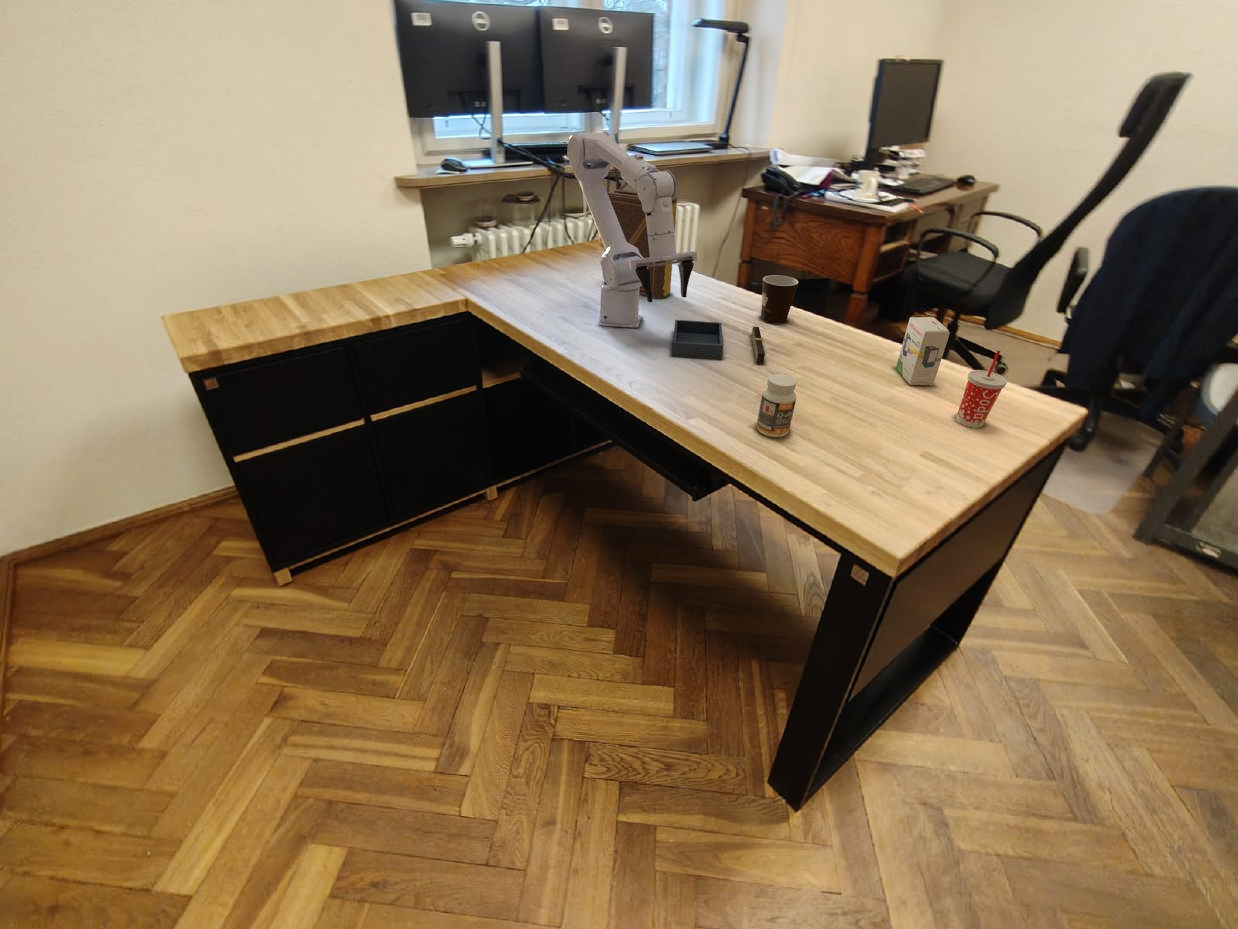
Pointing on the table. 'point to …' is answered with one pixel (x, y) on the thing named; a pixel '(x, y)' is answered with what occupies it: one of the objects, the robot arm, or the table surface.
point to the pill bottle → (777, 406)
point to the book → (641, 238)
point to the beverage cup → (980, 396)
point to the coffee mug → (777, 298)
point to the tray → (697, 339)
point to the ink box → (922, 350)
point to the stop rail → (757, 345)
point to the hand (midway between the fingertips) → (667, 299)
